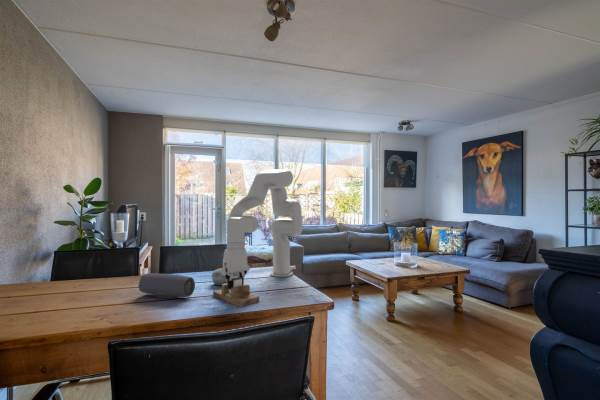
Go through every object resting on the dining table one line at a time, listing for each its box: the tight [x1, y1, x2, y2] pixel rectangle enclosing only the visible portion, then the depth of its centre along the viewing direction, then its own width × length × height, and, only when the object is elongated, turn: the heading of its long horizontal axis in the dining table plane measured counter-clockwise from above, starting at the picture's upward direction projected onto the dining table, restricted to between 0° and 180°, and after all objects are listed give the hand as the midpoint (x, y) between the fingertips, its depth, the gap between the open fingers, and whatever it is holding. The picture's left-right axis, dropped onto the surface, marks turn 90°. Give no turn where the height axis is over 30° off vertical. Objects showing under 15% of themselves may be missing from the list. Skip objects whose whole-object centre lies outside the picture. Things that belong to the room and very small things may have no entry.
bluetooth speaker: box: [138, 272, 196, 300], centre depth 139 cm, size 23×9×10 cm, turn 74°
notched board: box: [212, 283, 260, 308], centre depth 137 cm, size 10×20×6 cm, turn 45°
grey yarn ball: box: [211, 267, 239, 286], centre depth 159 cm, size 14×10×10 cm
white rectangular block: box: [229, 276, 242, 293], centre depth 137 cm, size 4×4×7 cm
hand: (235, 287), depth 137 cm, fingers open, 4 cm apart
